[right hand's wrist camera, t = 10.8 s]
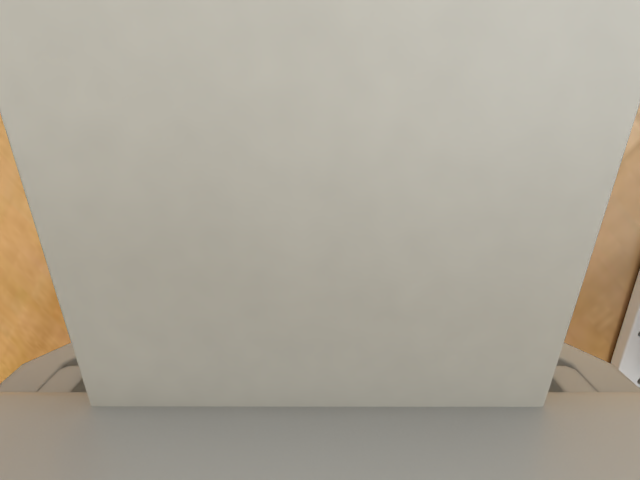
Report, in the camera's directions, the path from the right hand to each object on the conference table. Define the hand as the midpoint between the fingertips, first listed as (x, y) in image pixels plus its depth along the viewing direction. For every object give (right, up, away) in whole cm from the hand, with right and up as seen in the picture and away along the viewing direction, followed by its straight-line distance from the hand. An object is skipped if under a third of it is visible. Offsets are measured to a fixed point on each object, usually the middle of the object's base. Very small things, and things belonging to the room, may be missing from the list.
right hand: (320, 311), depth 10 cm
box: (0, +10, +1) cm, 10 cm away
